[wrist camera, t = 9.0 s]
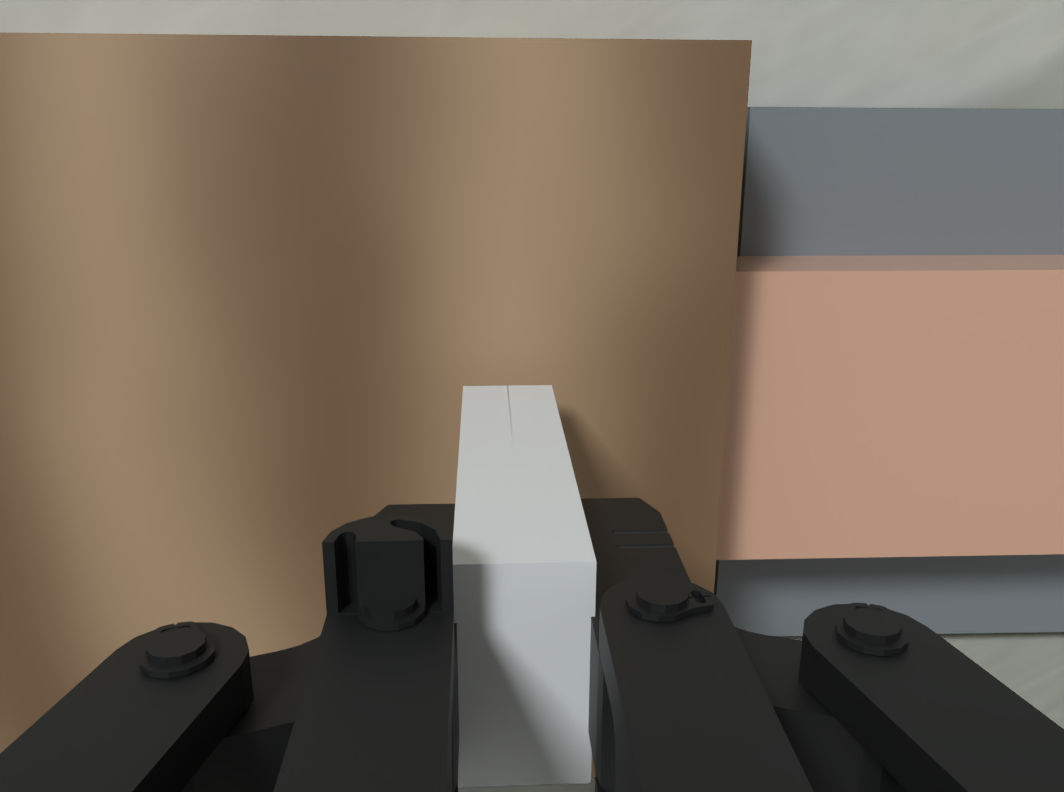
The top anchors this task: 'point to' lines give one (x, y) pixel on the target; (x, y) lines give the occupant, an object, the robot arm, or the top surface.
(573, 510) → the robot arm
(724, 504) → the tile
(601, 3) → the top surface
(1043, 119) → the mat
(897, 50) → the top surface
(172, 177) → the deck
